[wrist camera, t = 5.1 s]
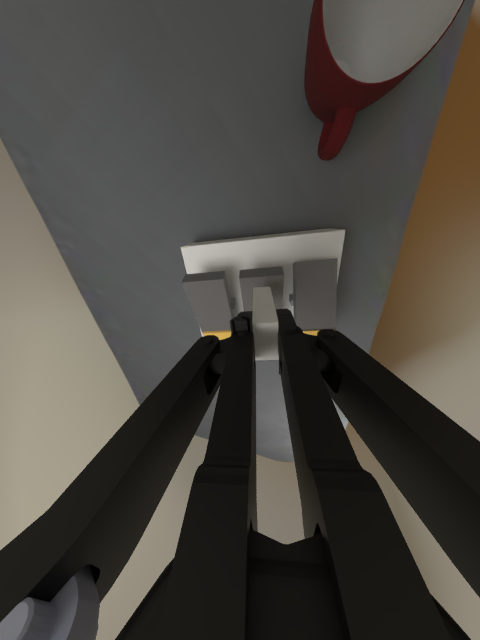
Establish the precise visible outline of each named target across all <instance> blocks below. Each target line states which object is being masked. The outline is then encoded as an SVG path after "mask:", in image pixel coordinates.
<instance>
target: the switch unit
mask: <svg viewBox="0 0 480 640" xmlns="http://www.w3.org/2000/svg"><path fill="white" fill-rule="evenodd" d="M344 236H345V230H342V229H332V228H326V229H317V230H308V231H298V232H289V233H279V234H270V235H261V236H251V237H242V238H233V239H223V240H214V241H204V242H195V243H191V244H188V245H185V246H182V247H181V251H182V255H183V259H184V263H185V267H186V271H187V274H194V273H206V272H218V271H225V274H226V279H227V284H228V289H229V294H230V299H231V304H232V309H233V314H234V317H237V315H238V314H239V313H240V312H244V309H243V302H242V295H241V288H240V282H239V273H240V270H245V269H256V268H268V267H280V266H282V268H283V272H284V285H283V300H282V309H286V308H287V309H289V310H290V311H291V312H292V315H293V317H294V308H293V263H294V262H299V261H311V260H322V259H333V258H338V262H337V281H338V275H339V269H340V262H341V256H342V249H343V243H344ZM200 330H201V328H200ZM201 334H202V337H203V333H202V331H201Z"/></svg>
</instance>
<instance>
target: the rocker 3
mask: <svg viewBox="0 0 480 640" xmlns="http://www.w3.org/2000/svg"><path fill="white" fill-rule="evenodd" d="M337 262H338V258H333V259H322V260H311V261H299V262H294V263H293V308H294V320H295V322H296V325H297V326H298V327H300V328H301V329H302V331H303V333H305V334H309V335H316V336H317V332H318V331H320V330H323V329H333V330H336V309H337Z"/></svg>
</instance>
